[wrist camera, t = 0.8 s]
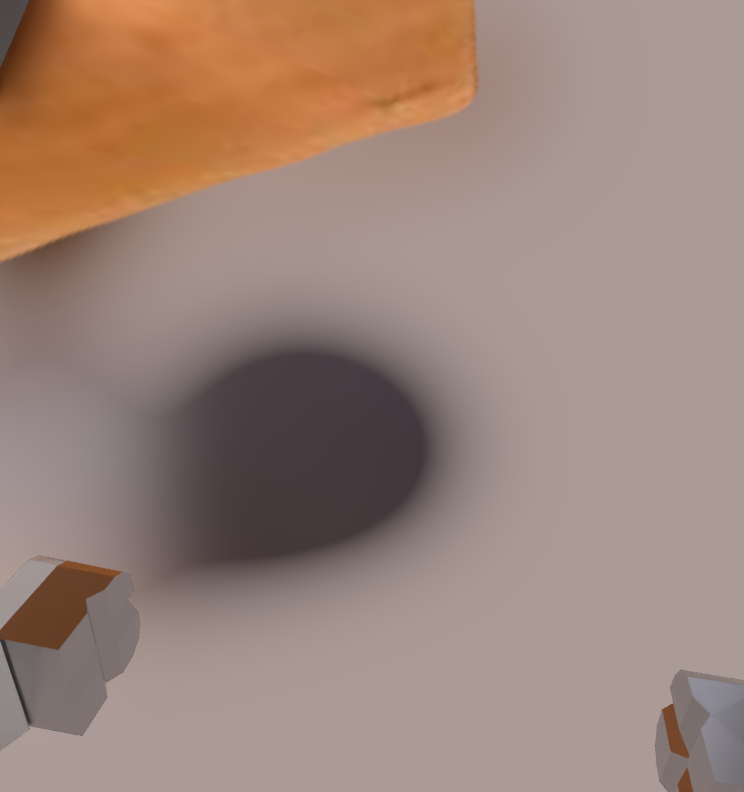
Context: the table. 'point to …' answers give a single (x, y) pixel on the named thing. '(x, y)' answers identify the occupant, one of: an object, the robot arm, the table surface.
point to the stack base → (9, 22)
